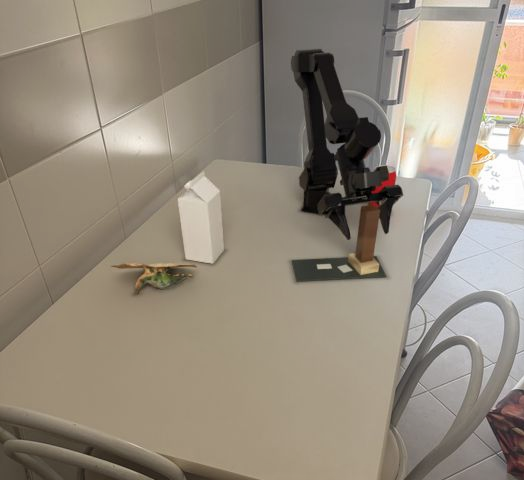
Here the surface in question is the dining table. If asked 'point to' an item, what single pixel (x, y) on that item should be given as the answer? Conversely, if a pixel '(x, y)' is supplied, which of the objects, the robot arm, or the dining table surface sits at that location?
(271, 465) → the dining table surface
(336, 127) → the robot arm
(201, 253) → the milk carton
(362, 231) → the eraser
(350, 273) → the slate board
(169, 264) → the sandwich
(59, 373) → the dining table surface
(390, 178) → the beverage can
